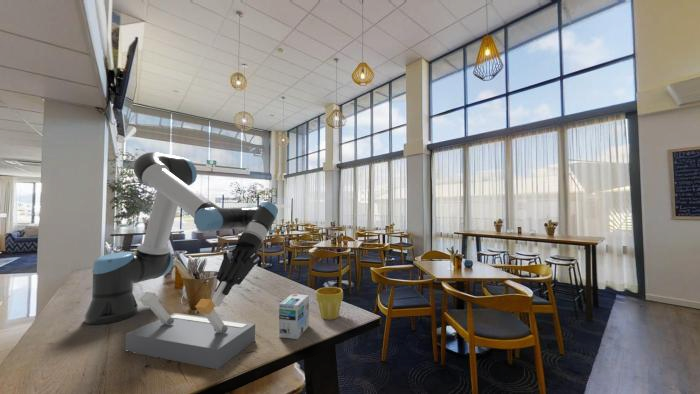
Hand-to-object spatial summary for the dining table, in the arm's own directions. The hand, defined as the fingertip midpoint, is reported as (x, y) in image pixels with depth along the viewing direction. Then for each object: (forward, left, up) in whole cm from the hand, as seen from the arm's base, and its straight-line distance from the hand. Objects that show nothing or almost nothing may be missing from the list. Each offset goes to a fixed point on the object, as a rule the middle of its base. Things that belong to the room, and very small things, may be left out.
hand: (214, 304), depth 78 cm
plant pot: (+22, +35, -14) cm, 43 cm away
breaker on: (-20, +3, -8) cm, 22 cm away
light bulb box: (+15, +20, -14) cm, 29 cm away
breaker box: (-10, +3, -14) cm, 17 cm away
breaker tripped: (0, +3, -8) cm, 8 cm away
